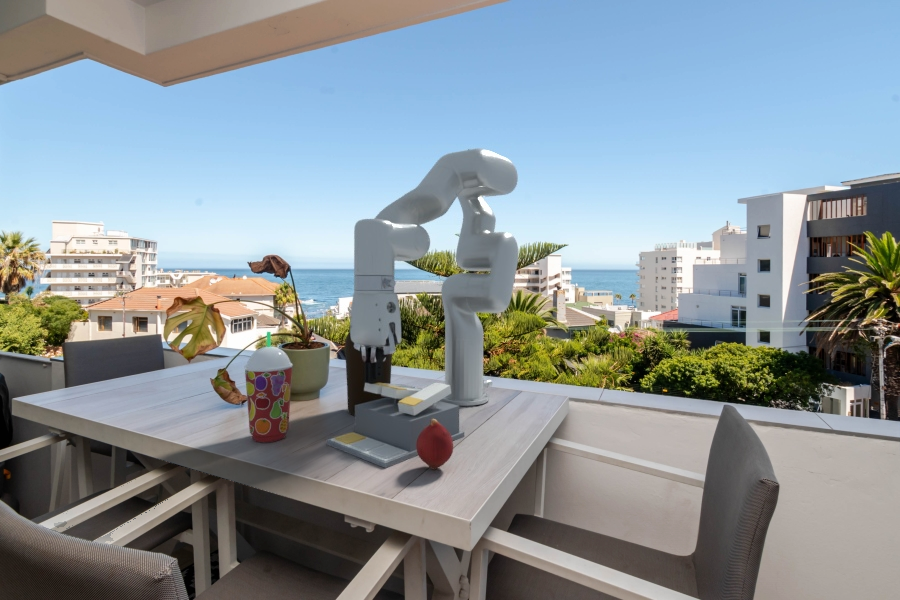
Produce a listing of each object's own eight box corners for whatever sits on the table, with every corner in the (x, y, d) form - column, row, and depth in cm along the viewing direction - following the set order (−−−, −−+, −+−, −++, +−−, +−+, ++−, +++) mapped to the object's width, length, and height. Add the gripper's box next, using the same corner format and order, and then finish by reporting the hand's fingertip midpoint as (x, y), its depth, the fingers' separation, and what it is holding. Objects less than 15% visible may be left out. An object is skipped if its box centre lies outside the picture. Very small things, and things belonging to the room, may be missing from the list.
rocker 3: (436, 394, 89) (435, 381, 88) (451, 398, 86) (450, 384, 86) (400, 416, 81) (397, 401, 81) (415, 420, 79) (412, 405, 78)
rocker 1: (400, 396, 95) (402, 383, 95) (413, 400, 93) (415, 386, 93) (363, 395, 88) (365, 381, 88) (376, 399, 85) (378, 384, 85)
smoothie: (278, 427, 92) (277, 328, 91) (301, 436, 87) (301, 331, 86) (236, 438, 86) (235, 332, 85) (259, 449, 80) (258, 335, 80)
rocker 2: (417, 401, 92) (419, 387, 92) (431, 404, 89) (433, 390, 90) (380, 400, 84) (382, 385, 85) (394, 404, 82) (396, 388, 82)
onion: (442, 459, 76) (443, 411, 76) (459, 472, 71) (460, 421, 71) (410, 465, 74) (410, 416, 73) (426, 479, 69) (426, 426, 68)
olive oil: (389, 417, 99) (390, 302, 98) (340, 417, 99) (340, 302, 98) (394, 404, 110) (394, 300, 109) (349, 404, 110) (349, 300, 109)
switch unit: (406, 419, 98) (406, 385, 98) (464, 436, 88) (464, 398, 87) (326, 444, 83) (326, 403, 83) (385, 468, 73) (385, 422, 72)
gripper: (416, 286, 84) (415, 385, 85) (364, 285, 94) (364, 374, 95) (385, 286, 79) (385, 392, 79) (333, 285, 88) (333, 379, 89)
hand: (373, 382), depth 87 cm, fingers closed
